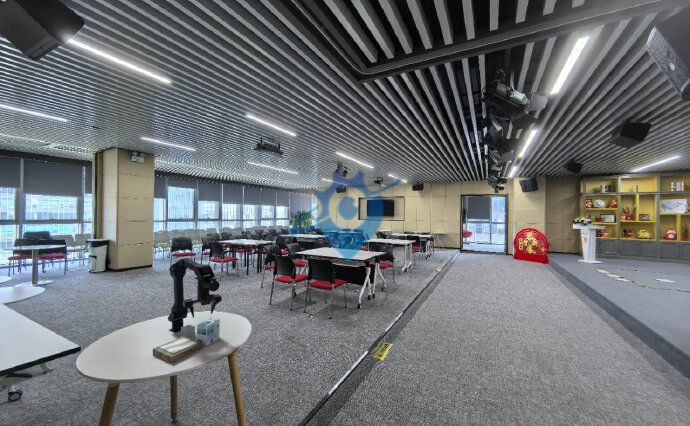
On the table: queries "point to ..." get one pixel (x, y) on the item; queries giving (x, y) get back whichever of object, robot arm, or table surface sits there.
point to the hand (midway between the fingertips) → (202, 315)
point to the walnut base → (177, 349)
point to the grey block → (188, 331)
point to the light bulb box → (208, 331)
